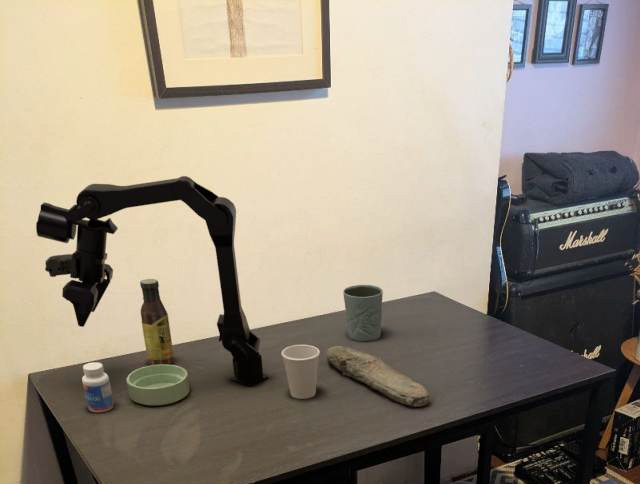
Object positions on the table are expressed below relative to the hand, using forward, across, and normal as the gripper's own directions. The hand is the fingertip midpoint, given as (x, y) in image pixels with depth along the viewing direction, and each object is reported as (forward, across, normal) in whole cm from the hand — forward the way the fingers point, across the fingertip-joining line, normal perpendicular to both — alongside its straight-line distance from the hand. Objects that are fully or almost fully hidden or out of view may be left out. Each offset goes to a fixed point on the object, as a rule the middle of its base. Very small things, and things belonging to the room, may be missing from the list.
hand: (86, 318), depth 169 cm
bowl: (+11, +7, +18) cm, 22 cm away
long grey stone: (-2, +3, +65) cm, 65 cm away
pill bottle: (+14, +13, +7) cm, 20 cm away
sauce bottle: (+12, -11, +16) cm, 23 cm away
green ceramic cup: (-1, -26, +64) cm, 69 cm away
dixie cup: (+3, +8, +49) cm, 50 cm away
